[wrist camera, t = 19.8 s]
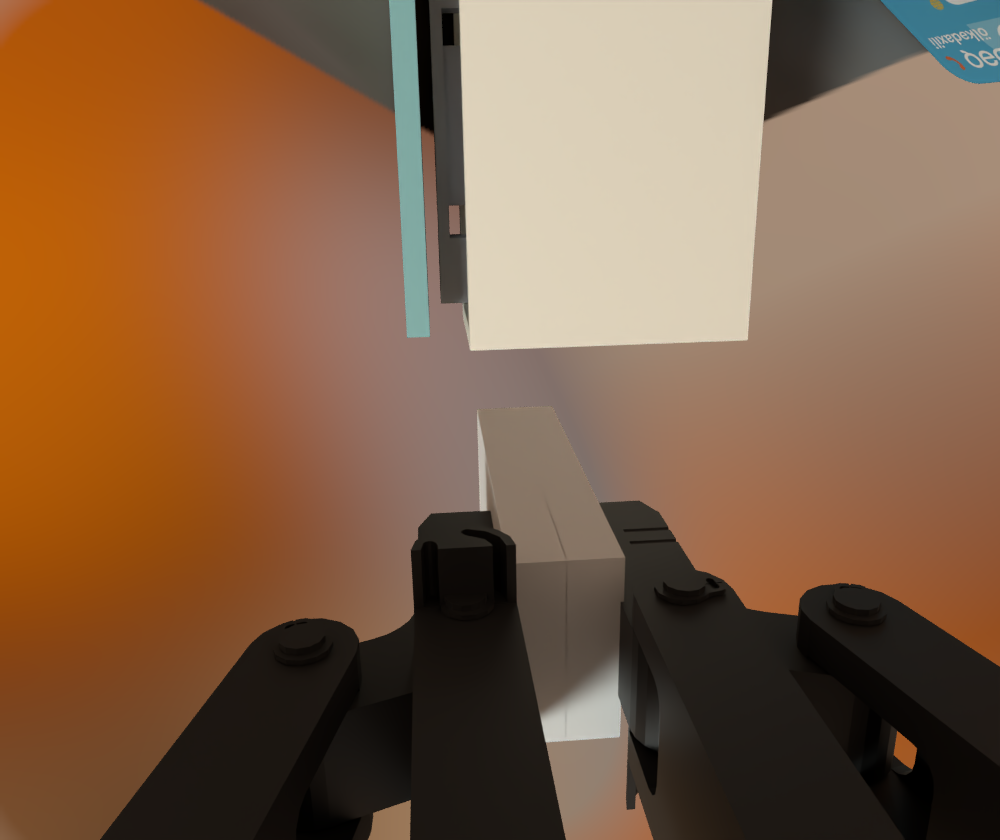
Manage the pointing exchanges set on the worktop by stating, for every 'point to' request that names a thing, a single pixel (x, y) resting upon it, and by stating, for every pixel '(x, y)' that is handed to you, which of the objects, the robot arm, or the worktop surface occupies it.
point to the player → (610, 169)
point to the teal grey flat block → (446, 159)
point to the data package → (956, 34)
